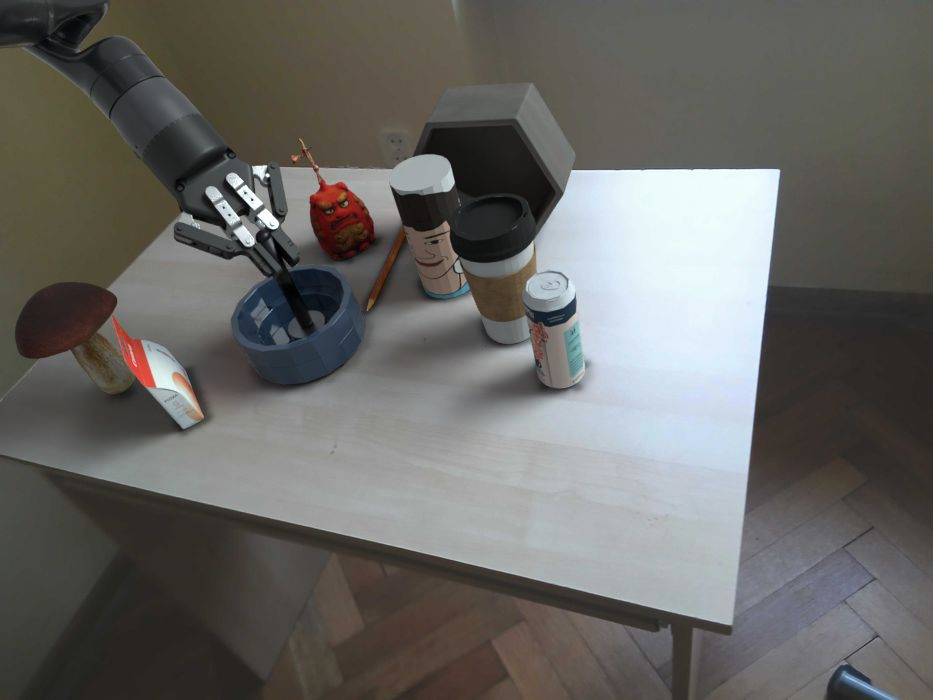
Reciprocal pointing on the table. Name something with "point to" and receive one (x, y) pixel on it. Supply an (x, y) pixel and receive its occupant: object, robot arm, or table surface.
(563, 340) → the beer can
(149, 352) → the ink box
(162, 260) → the table surface
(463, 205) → the coffee cup
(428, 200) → the cup
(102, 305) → the decorative mushroom
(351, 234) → the red clay folk toy
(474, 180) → the grey hexagonal shelf
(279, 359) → the bowl
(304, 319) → the rod on round base
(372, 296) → the pencil
